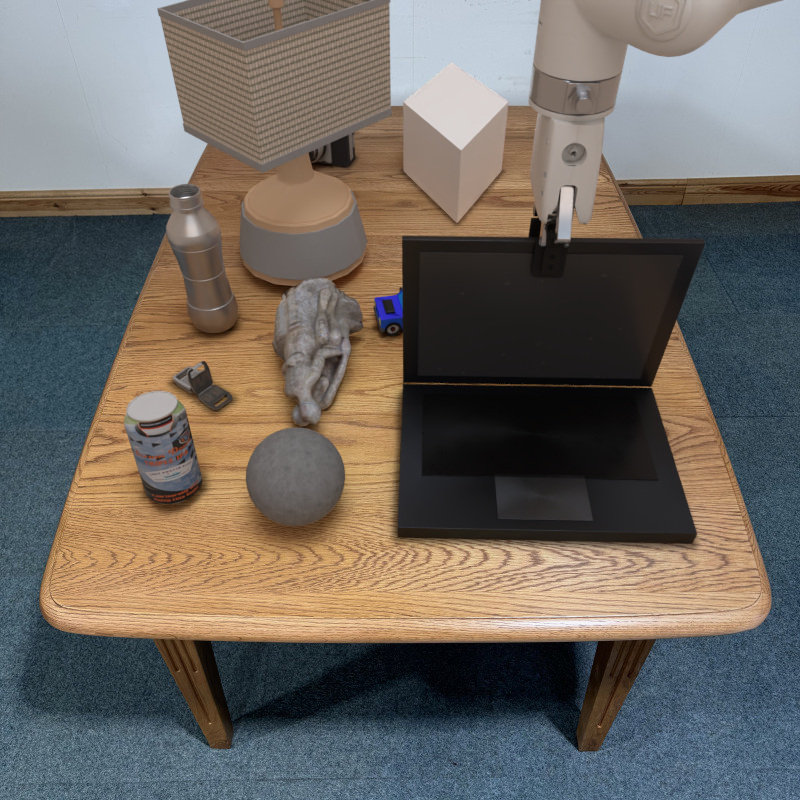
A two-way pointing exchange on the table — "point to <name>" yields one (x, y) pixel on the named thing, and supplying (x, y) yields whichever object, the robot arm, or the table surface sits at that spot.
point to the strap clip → (201, 385)
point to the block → (454, 139)
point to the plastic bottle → (200, 260)
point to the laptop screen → (541, 310)
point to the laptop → (538, 465)
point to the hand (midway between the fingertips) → (544, 262)
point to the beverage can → (163, 447)
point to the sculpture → (314, 344)
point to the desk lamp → (284, 115)
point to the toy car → (389, 313)
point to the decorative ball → (295, 476)
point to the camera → (335, 152)
